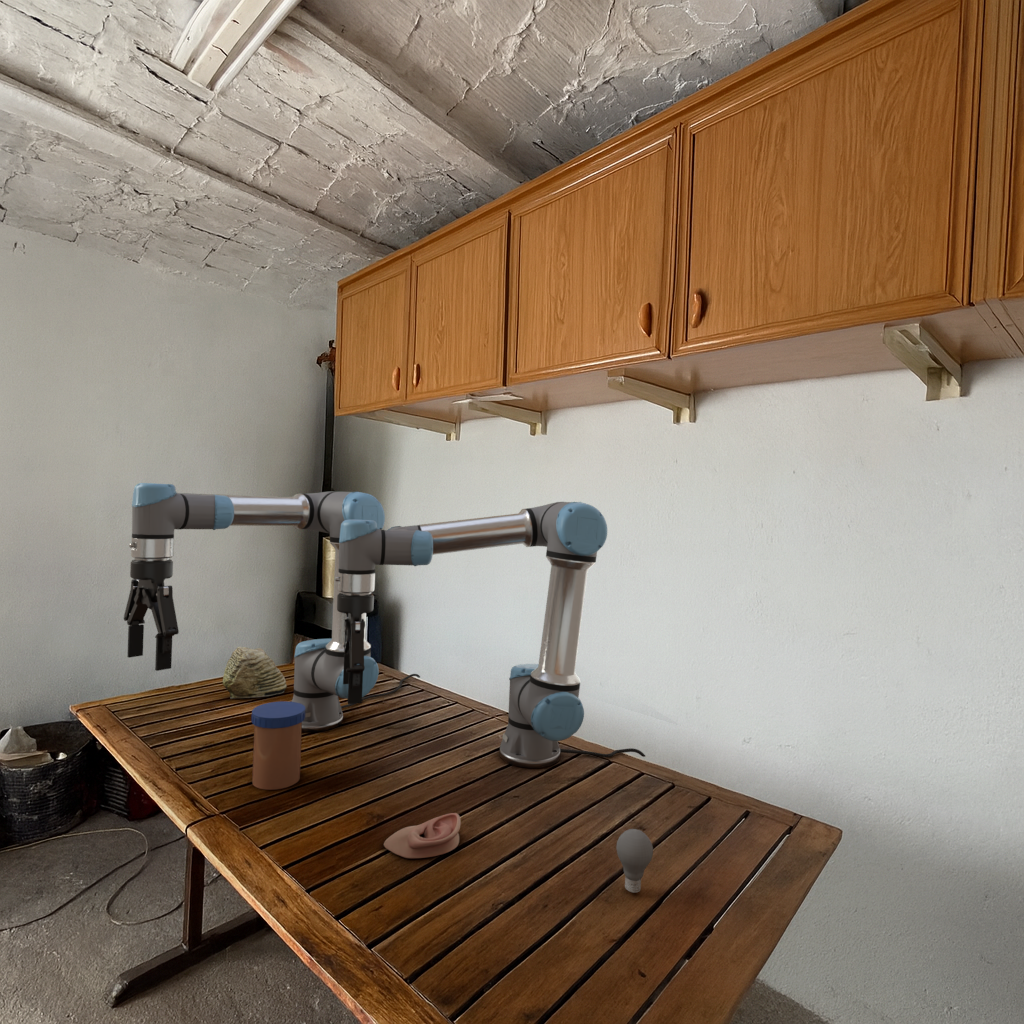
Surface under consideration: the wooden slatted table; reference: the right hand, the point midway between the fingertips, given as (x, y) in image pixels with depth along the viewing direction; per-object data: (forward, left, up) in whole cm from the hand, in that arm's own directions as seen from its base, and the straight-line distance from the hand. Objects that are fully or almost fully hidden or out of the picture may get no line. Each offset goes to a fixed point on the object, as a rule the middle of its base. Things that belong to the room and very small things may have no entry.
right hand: (351, 692), depth 134 cm
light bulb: (-43, +45, -22) cm, 66 cm away
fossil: (+23, -75, -22) cm, 82 cm away
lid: (+15, -12, -7) cm, 20 cm away
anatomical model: (-12, +22, -22) cm, 33 cm away
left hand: (+40, -9, +6) cm, 41 cm away
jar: (+15, -12, -22) cm, 29 cm away
